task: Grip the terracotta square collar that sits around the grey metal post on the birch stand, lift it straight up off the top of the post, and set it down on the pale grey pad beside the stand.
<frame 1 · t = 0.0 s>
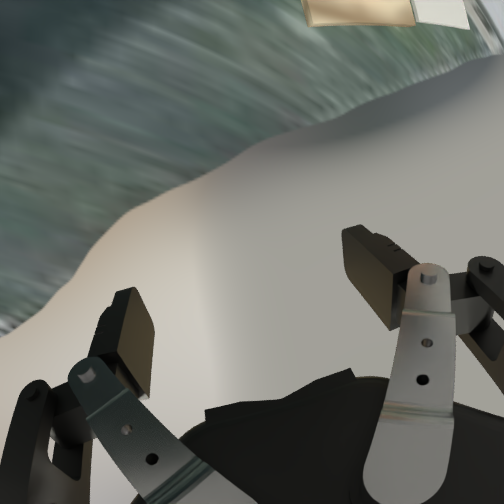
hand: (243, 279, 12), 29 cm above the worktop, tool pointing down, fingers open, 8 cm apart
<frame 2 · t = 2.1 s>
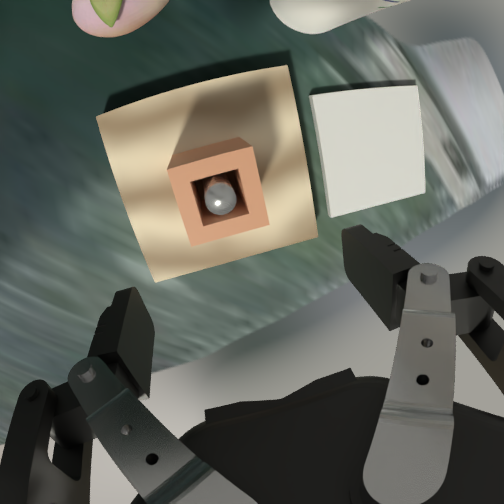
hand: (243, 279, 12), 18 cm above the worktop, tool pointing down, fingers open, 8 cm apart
collar: (214, 177, 26), point 2 cm above the worktop, touching stand base
stand base: (212, 172, 28), on the worktop
pad: (373, 146, 29), on the worktop
cylindrical container: (306, 1, 22), on the worktop
post: (217, 187, 23), on the stand base, point 5 cm above the worktop
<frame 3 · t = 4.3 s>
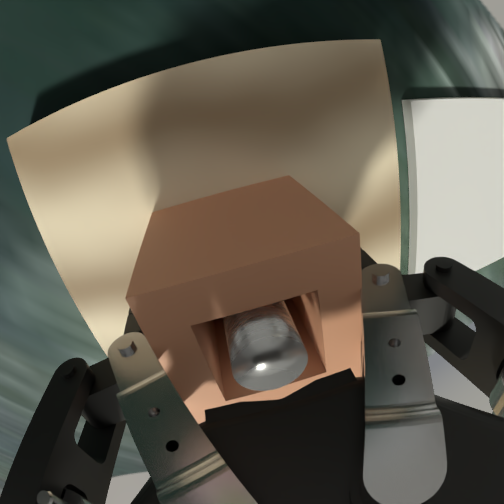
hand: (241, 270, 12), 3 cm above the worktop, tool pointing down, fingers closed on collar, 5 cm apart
collar: (237, 254, 14), point 2 cm above the worktop, touching gripper, stand base
stand base: (231, 236, 15), on the worktop
pad: (476, 188, 17), on the worktop
post: (249, 297, 11), on the stand base, point 5 cm above the worktop
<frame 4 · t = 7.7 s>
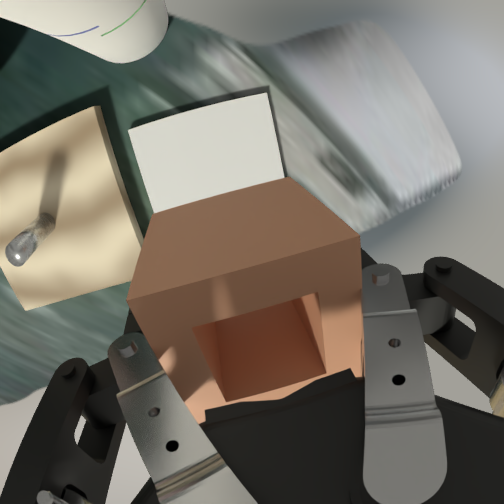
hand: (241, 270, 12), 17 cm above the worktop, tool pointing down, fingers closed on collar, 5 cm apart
collar: (237, 255, 14), point 16 cm above the worktop, touching gripper
stand base: (54, 215, 26), on the worktop
pad: (213, 173, 28), on the worktop
cylindrical container: (127, 26, 21), on the worktop
post: (32, 237, 22), on the stand base, point 5 cm above the worktop
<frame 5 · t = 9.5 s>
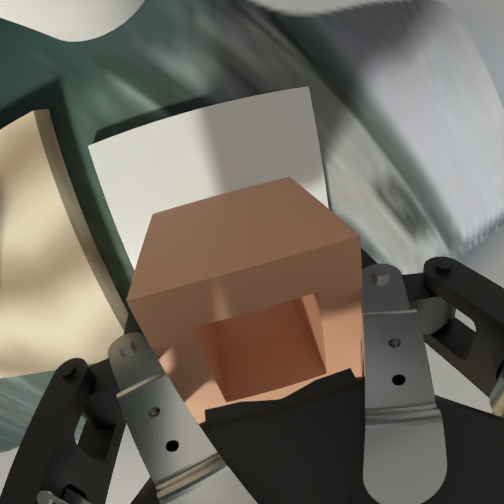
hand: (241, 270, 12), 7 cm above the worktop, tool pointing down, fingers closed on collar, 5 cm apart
collar: (237, 256, 14), point 5 cm above the worktop, touching gripper
stand base: (1, 268, 17), on the worktop
pad: (223, 211, 18), on the worktop
when the fingers open (4 cm above the worktop, at t = 11.1 s): collar drops 1 cm, resting on pad.
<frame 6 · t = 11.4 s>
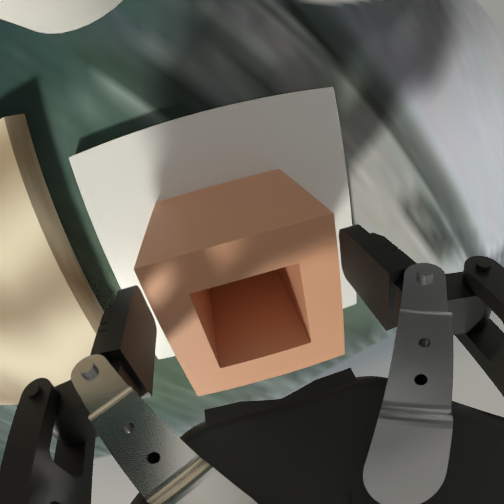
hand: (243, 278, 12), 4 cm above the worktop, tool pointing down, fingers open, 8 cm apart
collar: (232, 241, 15), point 1 cm above the worktop, touching pad
pad: (230, 233, 16), on the worktop
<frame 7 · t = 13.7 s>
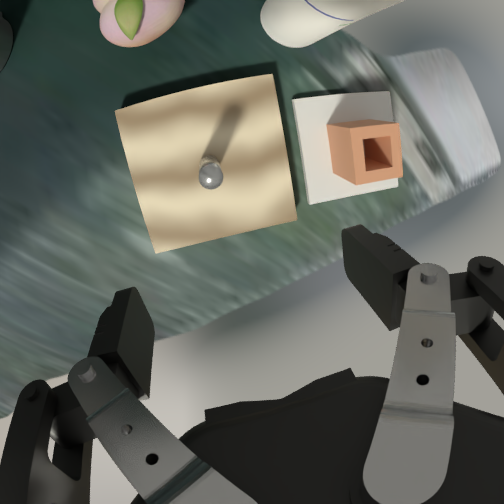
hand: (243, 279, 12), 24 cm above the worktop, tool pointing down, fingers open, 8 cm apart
decorative fruit: (148, 15, 25), on the worktop
collar: (352, 145, 34), point 1 cm above the worktop, touching pad
stand base: (208, 161, 33), on the worktop
pad: (349, 144, 34), on the worktop
cylindrical container: (292, 19, 28), on the worktop
post: (210, 170, 28), on the stand base, point 5 cm above the worktop
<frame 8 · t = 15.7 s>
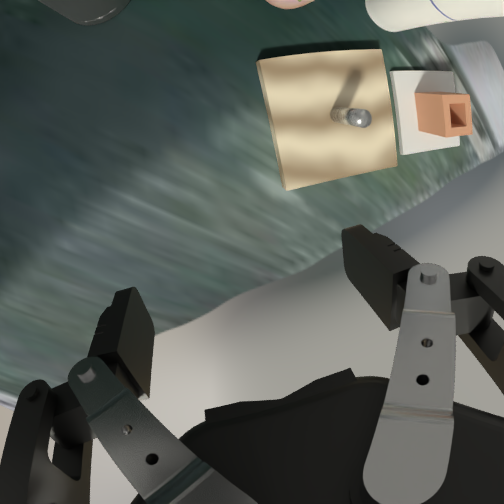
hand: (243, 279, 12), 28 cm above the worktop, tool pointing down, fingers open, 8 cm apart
collar: (430, 110, 37), point 1 cm above the worktop, touching pad
stand base: (330, 113, 37), on the worktop
pad: (427, 109, 38), on the worktop
cylindrical container: (386, 9, 31), on the worktop
post: (349, 116, 32), on the stand base, point 5 cm above the worktop
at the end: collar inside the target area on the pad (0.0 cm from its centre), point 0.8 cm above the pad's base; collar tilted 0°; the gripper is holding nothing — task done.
